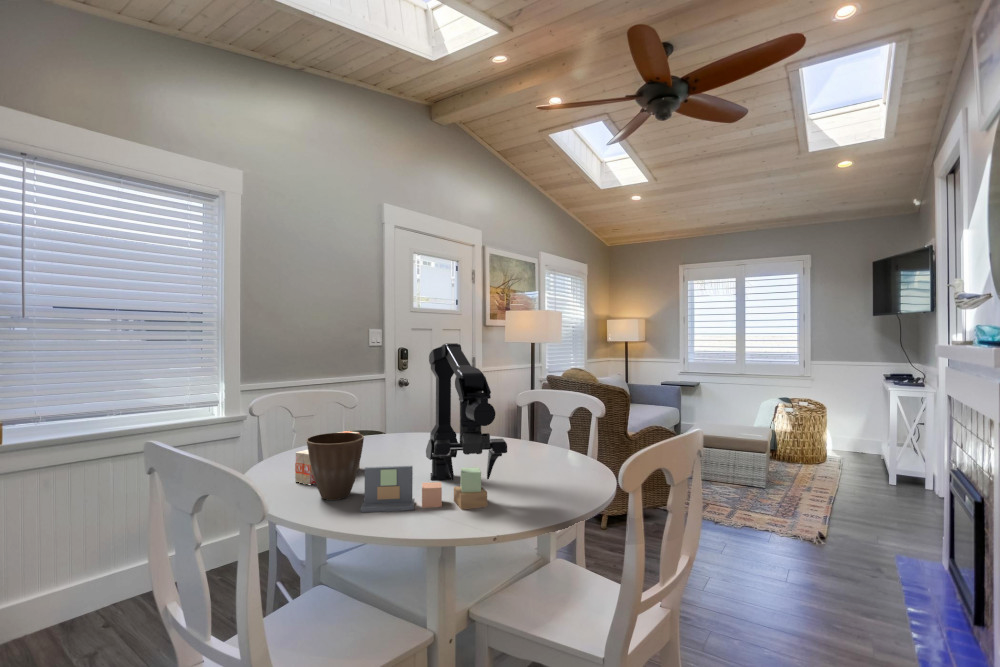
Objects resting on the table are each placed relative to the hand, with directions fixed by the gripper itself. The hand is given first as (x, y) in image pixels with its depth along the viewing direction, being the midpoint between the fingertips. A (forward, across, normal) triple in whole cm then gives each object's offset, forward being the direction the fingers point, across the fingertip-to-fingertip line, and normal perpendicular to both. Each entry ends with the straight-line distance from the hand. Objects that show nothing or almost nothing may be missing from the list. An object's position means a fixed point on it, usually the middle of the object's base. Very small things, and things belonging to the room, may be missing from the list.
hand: (470, 479), depth 133 cm
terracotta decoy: (+6, -10, +1) cm, 12 cm away
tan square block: (+7, 0, 0) cm, 7 cm away
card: (+6, -21, 0) cm, 22 cm away
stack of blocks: (+7, -42, +33) cm, 53 cm away
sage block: (+3, 0, 0) cm, 3 cm away
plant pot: (+6, -36, +11) cm, 38 cm away
